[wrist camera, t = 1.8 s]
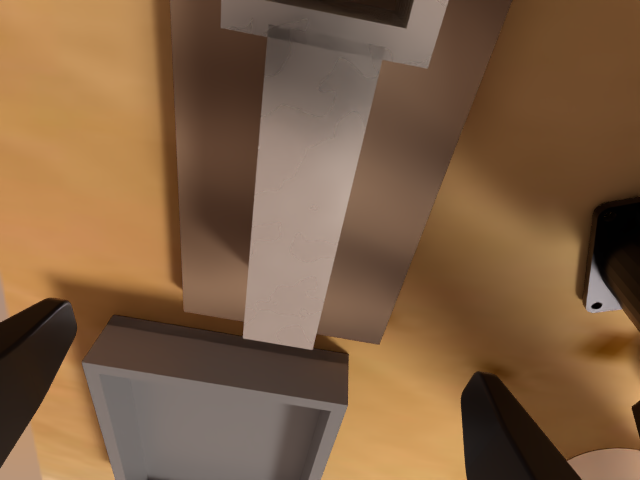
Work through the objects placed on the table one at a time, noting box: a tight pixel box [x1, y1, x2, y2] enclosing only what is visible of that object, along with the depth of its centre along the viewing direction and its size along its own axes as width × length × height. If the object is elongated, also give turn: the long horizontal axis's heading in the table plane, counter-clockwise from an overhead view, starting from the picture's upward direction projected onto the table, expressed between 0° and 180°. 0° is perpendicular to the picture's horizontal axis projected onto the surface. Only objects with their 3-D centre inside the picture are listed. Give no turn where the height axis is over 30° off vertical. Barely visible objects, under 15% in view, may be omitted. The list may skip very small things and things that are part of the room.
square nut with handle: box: [221, 0, 449, 350], centre depth 14 cm, size 17×5×4 cm, turn 170°
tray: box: [82, 315, 349, 480], centre depth 30 cm, size 22×15×4 cm
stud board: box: [170, 0, 512, 344], centre depth 14 cm, size 24×11×6 cm, turn 171°
